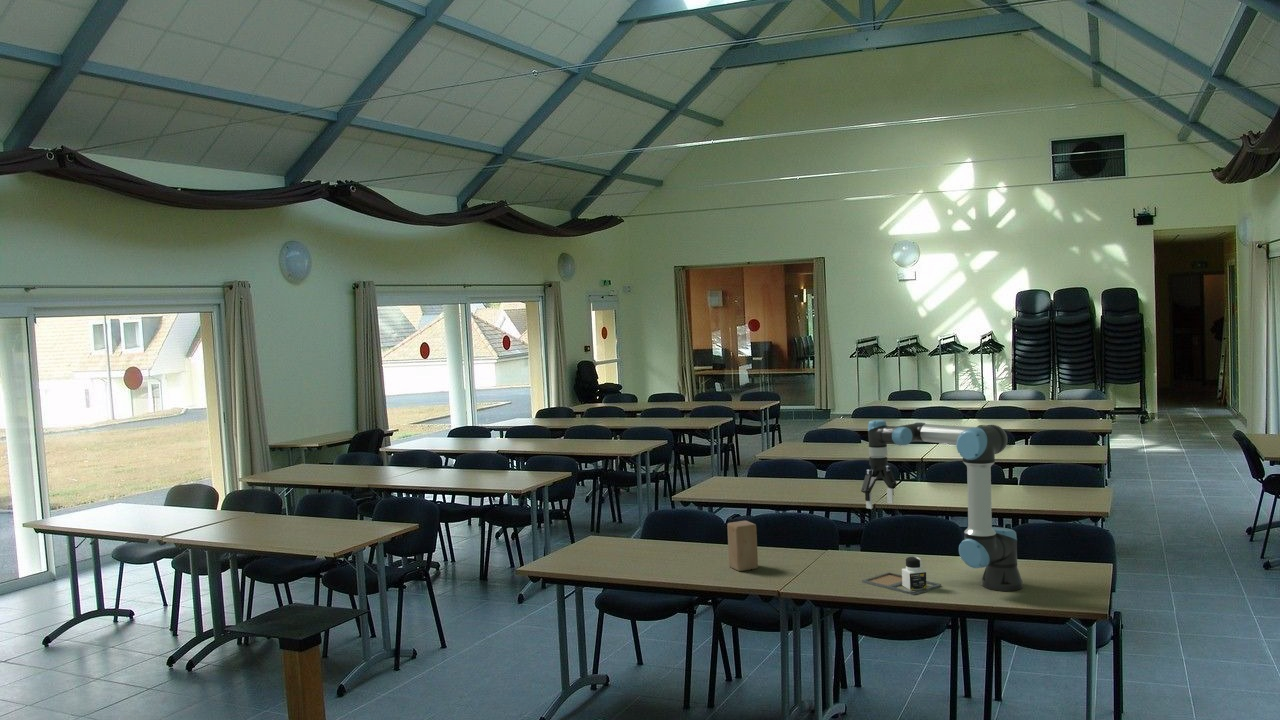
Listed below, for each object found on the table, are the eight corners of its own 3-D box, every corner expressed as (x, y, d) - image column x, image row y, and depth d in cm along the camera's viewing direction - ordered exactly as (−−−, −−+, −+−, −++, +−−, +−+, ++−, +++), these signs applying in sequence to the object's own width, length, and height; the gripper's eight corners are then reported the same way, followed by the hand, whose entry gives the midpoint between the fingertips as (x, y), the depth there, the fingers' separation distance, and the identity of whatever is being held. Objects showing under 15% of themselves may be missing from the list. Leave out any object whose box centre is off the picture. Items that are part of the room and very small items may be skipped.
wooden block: (738, 572, 424) (736, 526, 423) (728, 567, 433) (726, 522, 432) (759, 569, 428) (757, 523, 427) (748, 563, 437) (746, 519, 436)
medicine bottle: (910, 590, 385) (909, 560, 385) (902, 585, 392) (901, 556, 392) (927, 588, 387) (926, 559, 386) (918, 584, 394) (917, 554, 393)
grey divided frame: (941, 586, 389) (941, 584, 389) (914, 595, 379) (914, 593, 379) (889, 574, 410) (889, 572, 410) (862, 582, 400) (862, 580, 400)
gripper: (890, 452, 425) (891, 500, 426) (851, 459, 410) (853, 509, 411) (904, 453, 419) (905, 502, 420) (865, 461, 404) (867, 511, 405)
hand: (879, 506), depth 415 cm, fingers open, 13 cm apart
